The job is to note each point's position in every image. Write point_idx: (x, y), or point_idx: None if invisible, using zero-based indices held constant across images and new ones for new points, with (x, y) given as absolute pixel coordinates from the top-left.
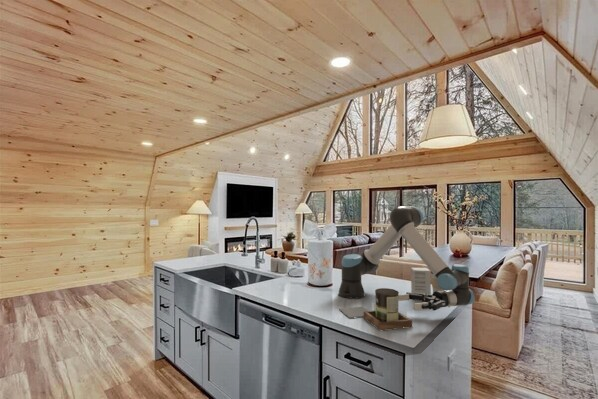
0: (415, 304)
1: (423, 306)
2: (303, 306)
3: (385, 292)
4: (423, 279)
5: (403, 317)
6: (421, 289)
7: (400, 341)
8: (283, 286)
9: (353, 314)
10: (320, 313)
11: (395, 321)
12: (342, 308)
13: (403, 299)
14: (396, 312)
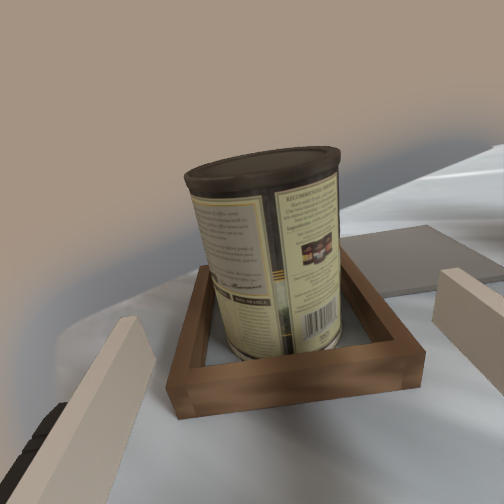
0: (121, 325)
1: (59, 415)
2: (424, 191)
3: (243, 162)
4: None
5: (242, 364)
6: None
7: (103, 314)
8: None
9: (362, 246)
10: (370, 209)
11: (194, 306)
12: (431, 230)
13: (498, 377)
14: (216, 289)
